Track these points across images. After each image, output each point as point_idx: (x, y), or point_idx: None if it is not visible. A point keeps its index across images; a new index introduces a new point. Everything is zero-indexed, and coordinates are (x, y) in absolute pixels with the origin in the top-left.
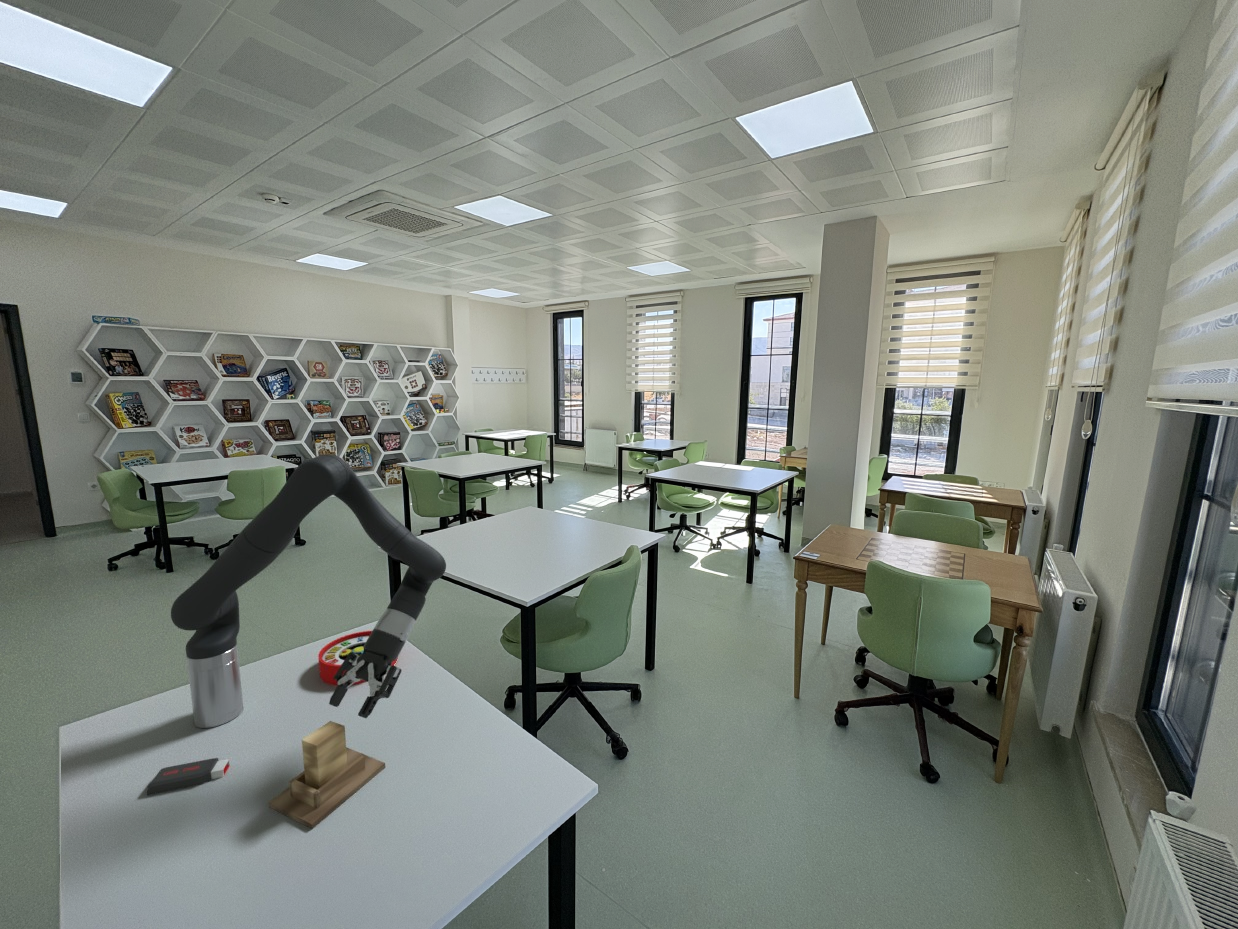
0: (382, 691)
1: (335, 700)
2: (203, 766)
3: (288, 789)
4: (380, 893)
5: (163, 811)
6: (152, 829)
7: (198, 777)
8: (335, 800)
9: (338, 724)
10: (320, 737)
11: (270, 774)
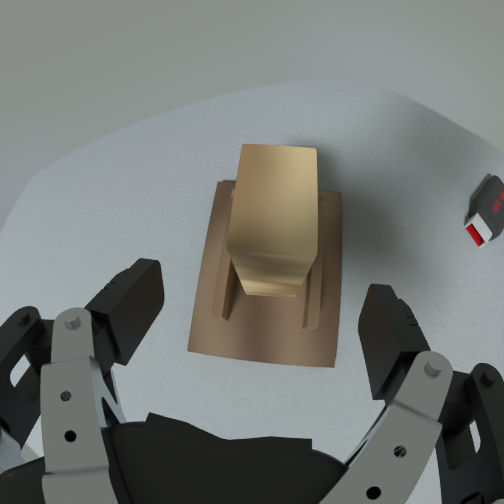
0: (12, 319)
1: (373, 309)
2: (491, 213)
3: (337, 223)
4: (79, 165)
5: (452, 163)
6: (431, 142)
7: (477, 199)
8: (216, 230)
9: (260, 246)
10: (265, 172)
11: (413, 254)
